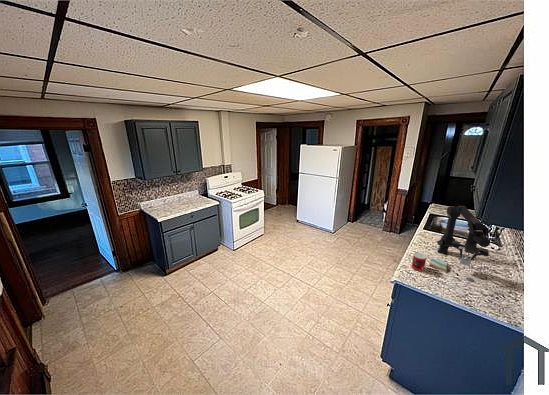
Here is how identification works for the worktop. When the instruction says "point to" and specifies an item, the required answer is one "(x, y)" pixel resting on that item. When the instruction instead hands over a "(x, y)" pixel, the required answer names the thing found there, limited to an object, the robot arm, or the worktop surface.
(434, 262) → the stand
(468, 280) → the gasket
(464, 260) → the housing
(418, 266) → the canned food
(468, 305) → the worktop surface
